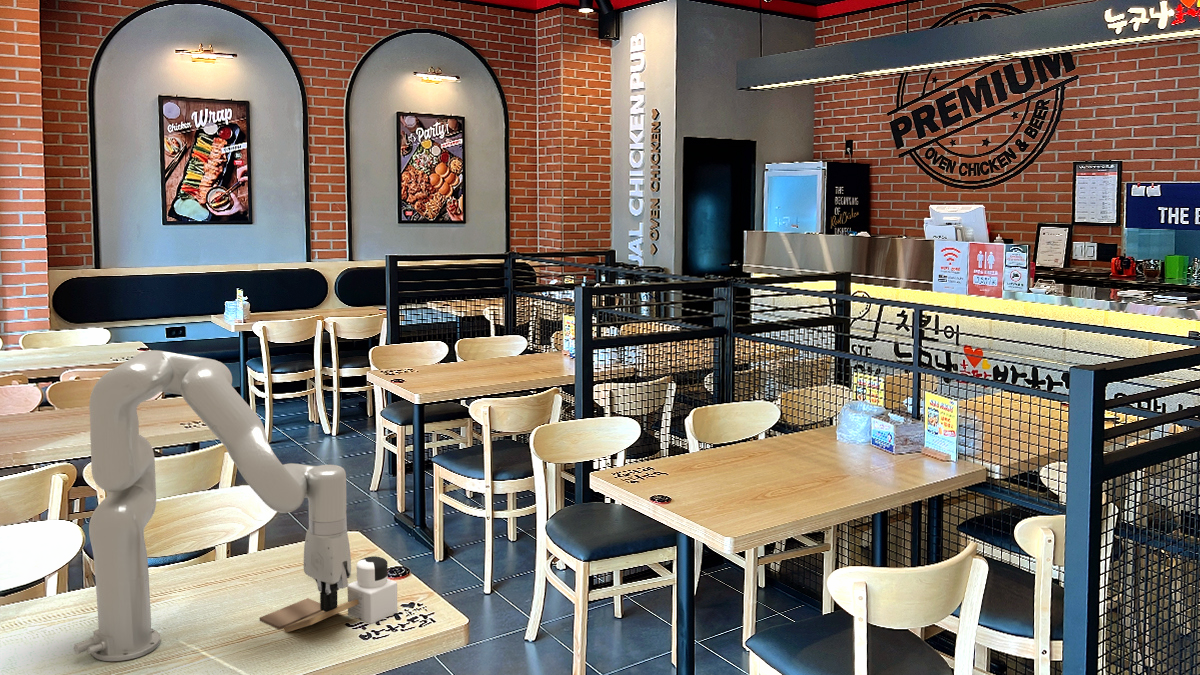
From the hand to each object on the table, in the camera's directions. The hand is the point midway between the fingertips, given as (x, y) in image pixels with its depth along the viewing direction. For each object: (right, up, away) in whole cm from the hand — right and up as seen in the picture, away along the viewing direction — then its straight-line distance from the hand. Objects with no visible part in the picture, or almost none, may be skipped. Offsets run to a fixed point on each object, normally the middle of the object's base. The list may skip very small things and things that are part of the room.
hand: (328, 608), depth 202 cm
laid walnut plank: (-5, -5, +4) cm, 8 cm away
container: (+7, -4, +9) cm, 12 cm away
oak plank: (-2, -3, +2) cm, 4 cm away
